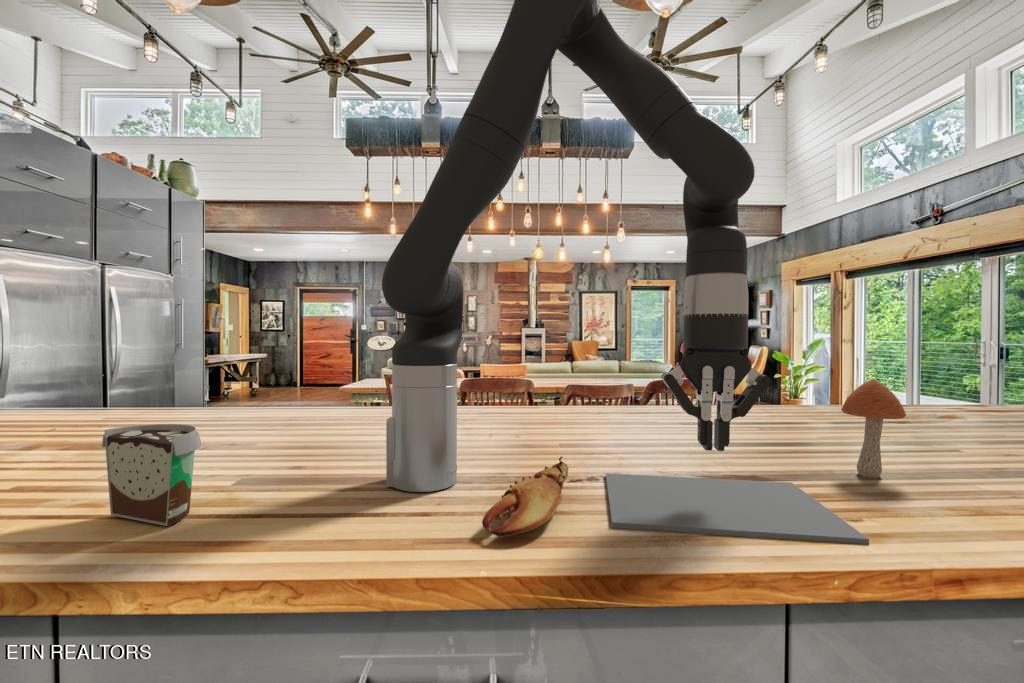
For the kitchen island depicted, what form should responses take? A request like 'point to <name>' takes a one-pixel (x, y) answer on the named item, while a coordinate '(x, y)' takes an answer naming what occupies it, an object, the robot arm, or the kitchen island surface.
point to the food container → (151, 471)
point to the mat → (723, 508)
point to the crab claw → (528, 502)
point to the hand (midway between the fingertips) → (713, 448)
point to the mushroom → (872, 421)
